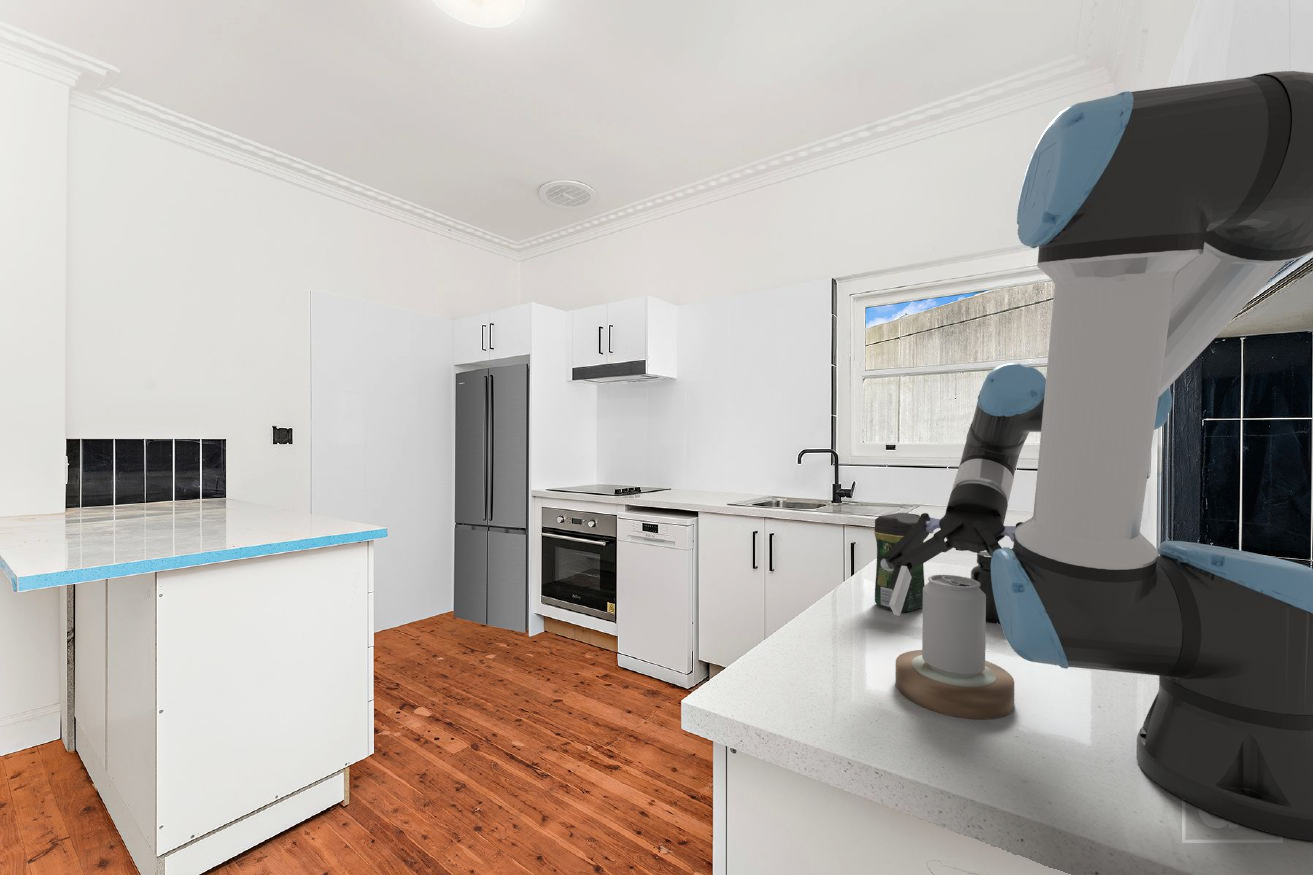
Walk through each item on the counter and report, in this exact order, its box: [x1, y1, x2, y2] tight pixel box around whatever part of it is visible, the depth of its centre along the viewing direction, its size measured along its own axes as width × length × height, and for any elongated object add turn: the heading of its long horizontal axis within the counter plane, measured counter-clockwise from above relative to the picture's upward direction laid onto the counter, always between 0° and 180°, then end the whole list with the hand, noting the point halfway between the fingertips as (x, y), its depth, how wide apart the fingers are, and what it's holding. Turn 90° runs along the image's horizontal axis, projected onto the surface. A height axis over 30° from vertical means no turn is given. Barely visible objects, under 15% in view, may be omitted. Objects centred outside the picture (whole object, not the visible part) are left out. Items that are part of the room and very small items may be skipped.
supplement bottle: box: [970, 551, 1001, 625], centre depth 105 cm, size 7×7×12 cm
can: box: [921, 574, 987, 678], centre depth 75 cm, size 8×8×12 cm
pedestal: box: [894, 649, 1015, 720], centre depth 75 cm, size 14×14×3 cm
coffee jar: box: [874, 512, 926, 613], centre depth 112 cm, size 10×8×19 cm
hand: (947, 622), depth 74 cm, fingers open, 13 cm apart
